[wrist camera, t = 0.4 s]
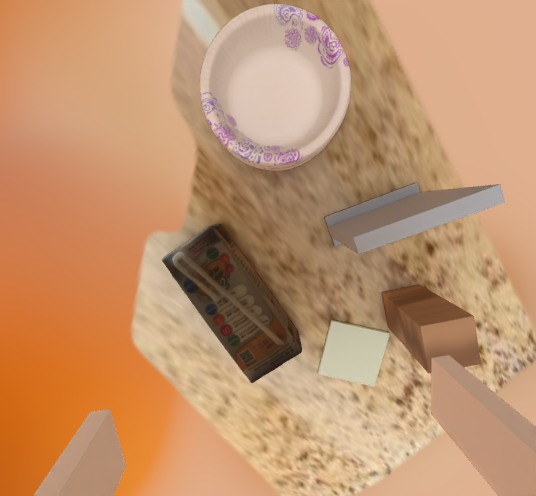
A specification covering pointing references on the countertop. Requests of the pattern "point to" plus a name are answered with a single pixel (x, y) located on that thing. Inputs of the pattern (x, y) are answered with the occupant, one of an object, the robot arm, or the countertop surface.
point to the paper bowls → (275, 86)
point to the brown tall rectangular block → (431, 326)
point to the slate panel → (406, 214)
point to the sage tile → (353, 352)
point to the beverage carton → (234, 302)
